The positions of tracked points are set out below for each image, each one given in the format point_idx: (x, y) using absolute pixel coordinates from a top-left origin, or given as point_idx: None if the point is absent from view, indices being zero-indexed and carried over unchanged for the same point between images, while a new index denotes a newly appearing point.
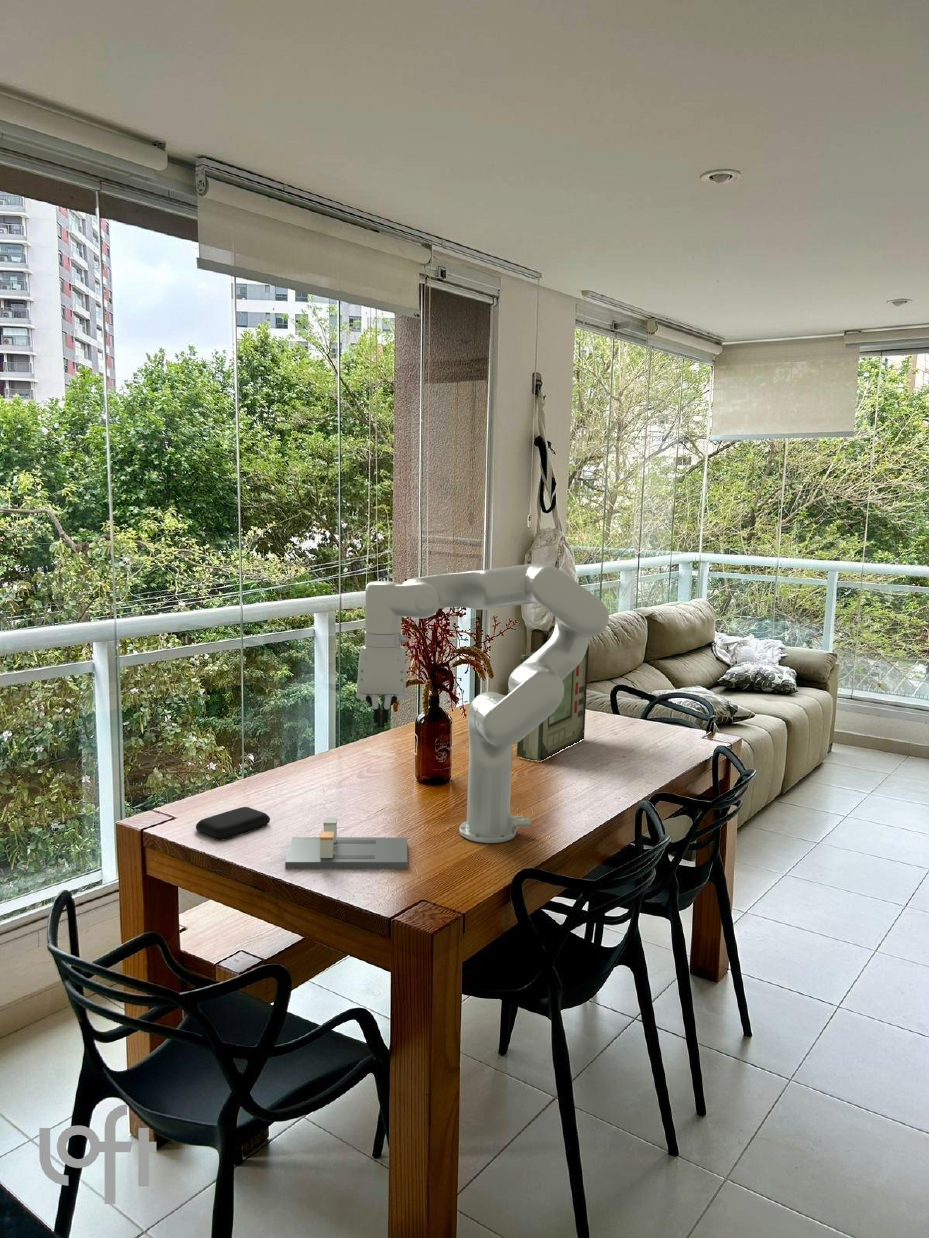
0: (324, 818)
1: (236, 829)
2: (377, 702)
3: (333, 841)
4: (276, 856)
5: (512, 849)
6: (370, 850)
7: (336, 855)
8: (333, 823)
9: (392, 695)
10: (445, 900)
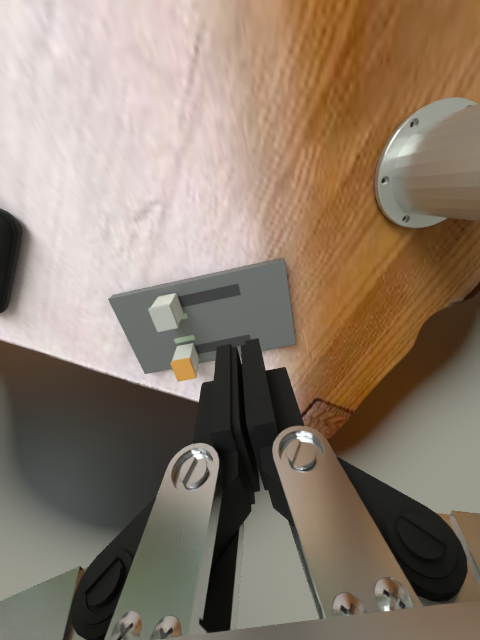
0: (150, 314)
1: (5, 292)
2: (237, 571)
3: (193, 359)
4: (116, 338)
5: (451, 240)
6: (239, 320)
7: (199, 345)
8: (173, 328)
9: (411, 585)
10: (339, 395)
